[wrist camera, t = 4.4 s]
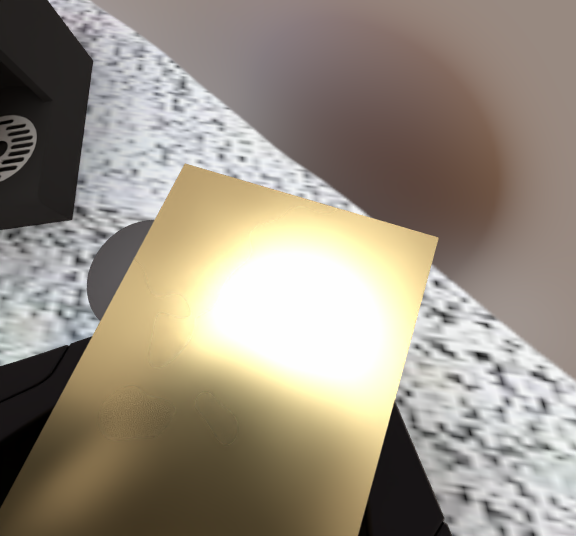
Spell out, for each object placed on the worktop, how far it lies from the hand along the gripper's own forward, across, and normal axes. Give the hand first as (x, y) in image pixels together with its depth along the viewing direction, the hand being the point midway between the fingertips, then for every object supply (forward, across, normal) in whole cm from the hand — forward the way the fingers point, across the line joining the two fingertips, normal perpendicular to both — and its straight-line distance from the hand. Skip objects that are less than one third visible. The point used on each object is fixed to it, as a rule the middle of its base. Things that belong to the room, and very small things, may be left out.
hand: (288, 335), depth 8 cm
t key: (+4, 0, +6) cm, 7 cm away
